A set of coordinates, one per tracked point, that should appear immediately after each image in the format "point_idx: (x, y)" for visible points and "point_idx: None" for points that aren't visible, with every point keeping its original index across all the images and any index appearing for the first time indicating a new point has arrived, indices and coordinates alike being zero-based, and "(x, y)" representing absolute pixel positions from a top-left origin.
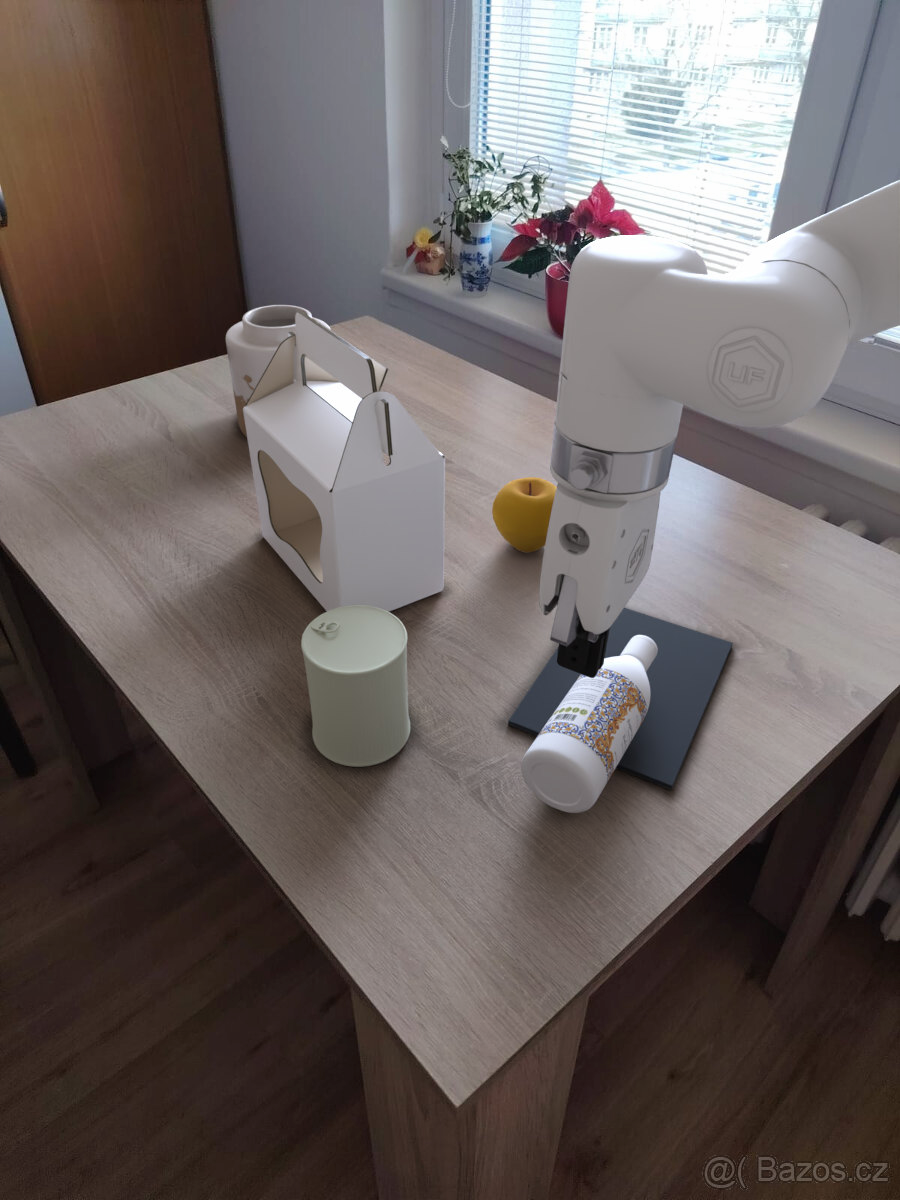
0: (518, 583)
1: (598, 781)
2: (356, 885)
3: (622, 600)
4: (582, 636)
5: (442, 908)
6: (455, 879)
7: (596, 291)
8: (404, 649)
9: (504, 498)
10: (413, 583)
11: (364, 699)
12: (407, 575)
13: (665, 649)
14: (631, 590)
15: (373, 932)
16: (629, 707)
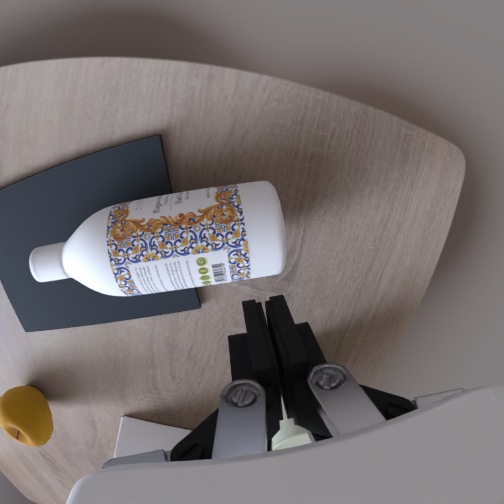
0: (65, 381)
1: (260, 189)
2: (401, 286)
3: (421, 468)
4: (388, 394)
5: (392, 230)
6: (369, 237)
7: None
8: (300, 433)
9: (41, 443)
10: (149, 437)
11: None
12: (154, 447)
13: (16, 246)
14: (314, 489)
15: (422, 254)
16: (140, 222)
